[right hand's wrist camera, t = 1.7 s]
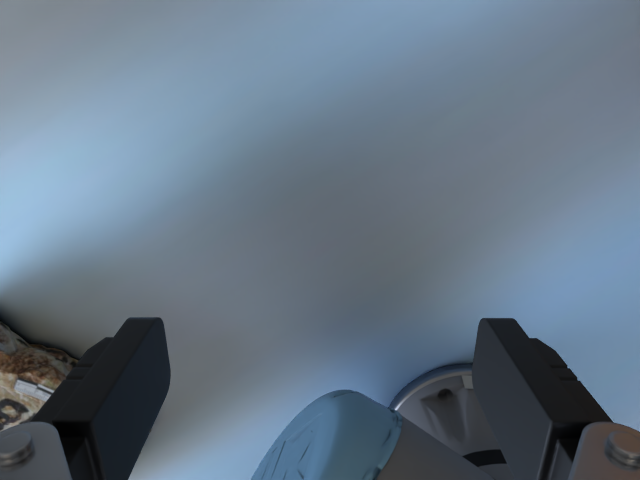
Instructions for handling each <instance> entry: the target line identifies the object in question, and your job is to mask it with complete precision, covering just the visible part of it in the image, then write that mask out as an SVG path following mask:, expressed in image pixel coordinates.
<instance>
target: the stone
mask: <svg viewBox="0 0 640 480" xmlns="http://www.w3.org/2000/svg"><path fill="white" fill-rule="evenodd" d="M77 362H78V360H76V359H74V358H71V357H70V356H69V355H67V354H66V353H65V352H64V351H61V350H58V349H55V348H46V347H44V346H43V345H33V344H28V343H27V342H26V341H25V340H23V339H22V338H21V337H20V336H19V335H17V334H15V333H14V332H12V331H11V330H10V328H9V327H8V326H6V325H5V324H3V323H2V322H0V432H1V431H3V430H5V429H8V428H10V427H13V426H16V425H19V424H23V423H28V422H30V421H31V420H32V418H33V417H34V416H35V415H36V413H37V412H38V411H39V410H40V408H41V407H42V406H43V405H44V403H45V402H46V401H47V400H48V398H49V397H50V396H51V395H52V394H53V392H54V391H55V390H56V389H57V387H58V386H59V385H60V384H61V382H62V381H63V380H66V376H67V375H68V374H69V372H70V371H71V370H72V369H73V367H76V364H77ZM150 431H151V430H150ZM149 433H150V432H149ZM140 453H141V452H140Z"/></svg>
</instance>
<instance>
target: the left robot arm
mask: <svg viewBox="0 0 640 480" xmlns="http://www.w3.org/2000/svg"><path fill="white" fill-rule="evenodd" d="M472 366H473V364H458V365H451V366H446V367H442V368H439V369H435V370H433V371H430V372H428V373H426V374H424V375H422V376H420V377H418V378H416V379H415V380H413V381H412V382H410V383H409V384H408V385H407V386H405V387H404V388H403V389H402V390H401V391H400V392H399V393H398V394H397V396H396V397H395V398H394V400H393V401H392V403H391V404H390V406H389V408H386V407H384V406H383V405H381V404H379V403H377V402H376V401H374V400H372V399H370V398H368V397H367V396H365V395H363V394H361V393H359V392H355V391H352V390H337V391H333V392H330V393H328V394H325V395H323V396H321V397H320V398H318V399H316V400H315V401H313V402H312V403H311V404H309V405H308V406H307V407H306V408H305V409H304V410H302V411H301V412H300V413H299V414H298V415H297V416H296V417H295V418H294V419H293V420H292V421H291V422H290V424H289V425H288V426H287V427H286V428H285V429H284V431H283V432H282V433H281V434H280V436H279V437H278V438H277V440H276V441H275V442H274V444H273V445H272V447H271V448H270V449H269V451H268V452H267V454H266V455H265V457H264V458H263V460H262V461H261V463H260V465H259V466H258V468H257V470H256V471H255V473H254V475H253V477H252V479H251V480H514V477H513V475H512V473H511V471H510V469H509V467H508V465H507V462H506V460H505V458H504V456H503V454H502V452H501V449H500V447H499V445H498V443H497V441H496V439H495V437H494V434H493V432H492V430H491V428H490V426H489V424H488V421H487V419H486V417H485V415H484V413H483V411H482V408H481V406H480V404H479V402H478V400H477V398H476V395H475V393H474V389H473V384H472Z"/></svg>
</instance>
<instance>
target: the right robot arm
mask: <svg viewBox="0 0 640 480" xmlns="http://www.w3.org/2000/svg"><path fill="white" fill-rule="evenodd" d="M472 384H473V389H474V393H475V395H476V398H477V400H478V402H479V404H480V406H481V408H482V411H483V413H484V415H485V417H486V419H487V421H488V424H489V426H490V428H491V430H492V432H493V434H494V437H495V439H496V441H497V443H498V445H499V447H500V449H501V452H502V454H503V456H504V458H505V460H506V462H507V465H508V467H509V469H510V471H511V473H512V475H513V477H514V480H640V432H639V431H637V430H635V429H632V428H630V427H627V426H624V425H621V424H617V423H613V421H612V420H611V419H610V418H609V416H608V415H607V414H606V413H605V412H604V410H603V409H602V408H601V407H600V405H599V404H598V403H597V402H596V400H595V399H594V398H593V397H592V395H591V394H590V393H589V392H588V391H587V389H586V388H585V387H584V386H583V384H582V383H581V382H580V381H577V377H576V376H575V374H574V373H573V372H572V371H571V370H570V368H567V365H566V363H565V362H564V361H563V360H562V358H561V357H560V356H559V355H558V353H557V352H556V351H555V350H553V349H552V348H550V347H549V346H547V345H546V344H544V343H543V342H542V341H540V340H539V339H537V338H529V337H528V336H527V335H526V333H525V332H524V331H523V329H522V328H521V327H520V325H519V324H518V323H517V321H516V320H515V319H513V318H483V319H481V321H480V323H479V326H478V332H477V339H476V346H475V353H474V359H473V366H472ZM169 385H170V363H169V356H168V350H167V343H166V336H165V329H164V324H163V321H162V319H161V318H159V317H131V318H128V319H127V320H126V321H125V323H124V324H123V325H122V327H121V328H120V329H119V331H118V332H117V333H116V335H115V336H114V337H106V338H104V339H103V340H101V341H100V342H98V343H97V344H95V345H94V346H93V347H91V348H90V349H88V350H87V351H86V352H85V354H84V355H83V356H82V357H81V359H80V360H79V361H78V362H77V364H76V367H73V369H72V370H71V371H70V372H69V374H68V375H67V376H66V380H63V381H62V382H61V384H60V385H59V386H58V387H57V389H56V390H55V391H54V392H53V394H52V395H51V396H50V397H49V398H48V400H47V401H46V402H45V403H44V405H43V406H42V407H41V408H40V410H39V411H38V412H37V413H36V415H35V416H34V417H33V418H32V420H31V421H30V422H28V423H23V424H19V425H16V426H13V427H10V428H8V429H5V430H3V431H1V432H0V480H128V478H129V476H130V474H131V472H132V470H133V467H134V465H135V463H136V461H137V459H138V456H139V454H140V452H141V450H142V448H143V446H144V443H145V441H146V439H147V437H148V435H149V432H150V430H151V428H152V426H153V424H154V421H155V419H156V417H157V415H158V413H159V411H160V408H161V406H162V404H163V402H164V400H165V397H166V395H167V393H168V389H169Z"/></svg>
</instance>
